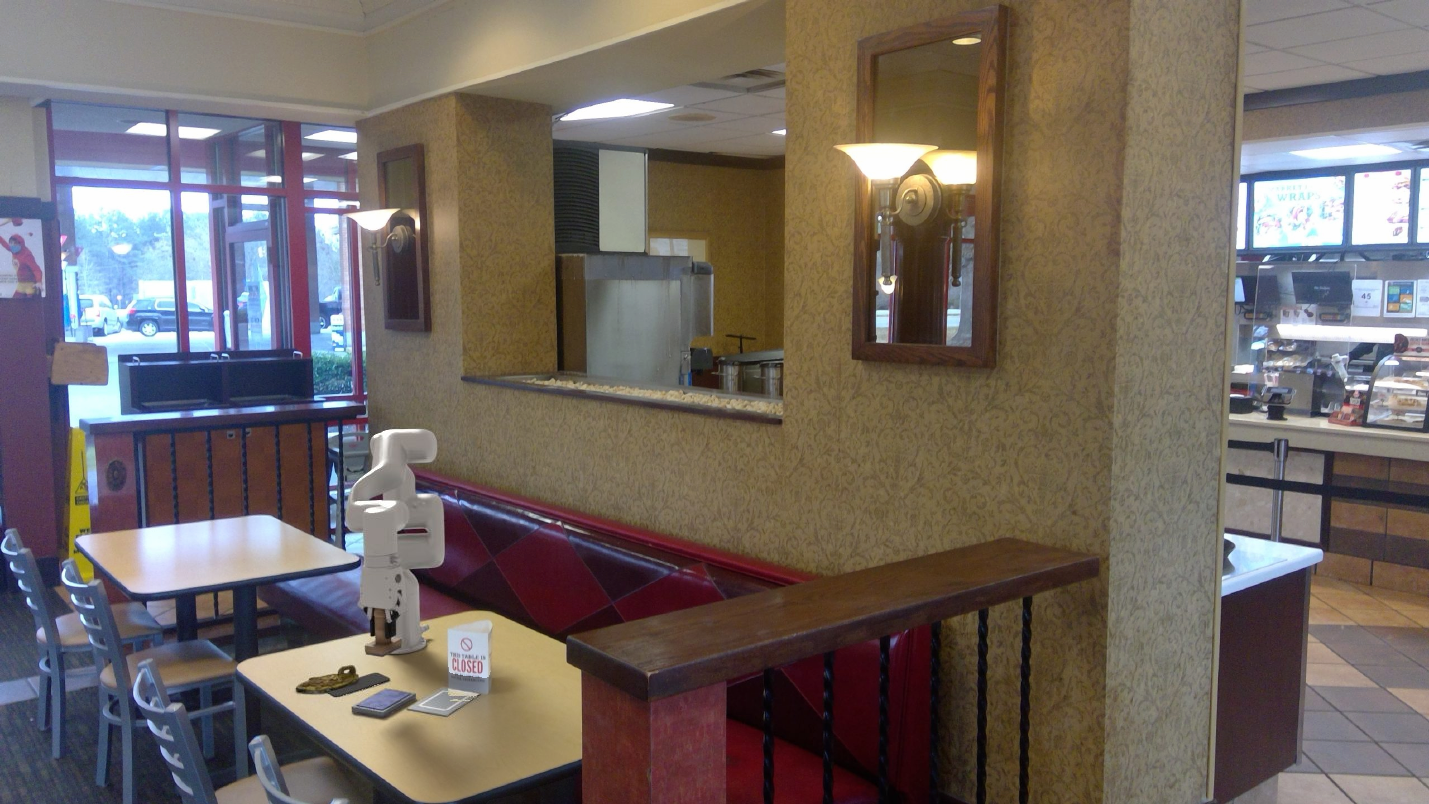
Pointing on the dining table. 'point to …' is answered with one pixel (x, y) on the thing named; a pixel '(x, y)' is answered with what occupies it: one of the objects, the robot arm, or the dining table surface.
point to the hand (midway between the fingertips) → (383, 635)
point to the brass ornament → (329, 681)
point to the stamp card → (440, 703)
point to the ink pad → (383, 703)
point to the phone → (360, 684)
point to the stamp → (382, 637)
